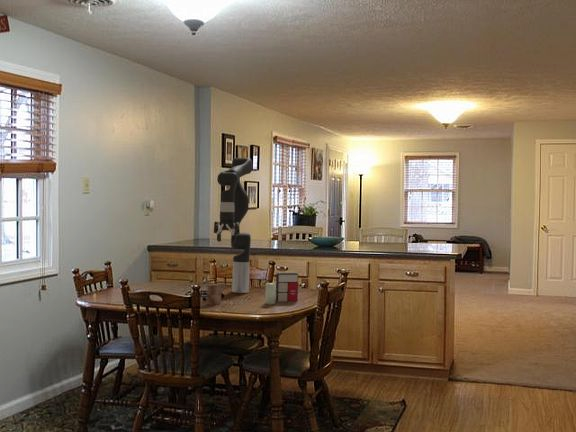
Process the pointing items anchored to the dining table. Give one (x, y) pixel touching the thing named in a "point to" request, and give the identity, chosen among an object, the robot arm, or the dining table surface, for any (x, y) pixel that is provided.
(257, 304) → the dining table surface
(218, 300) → the walnut block
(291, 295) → the miniature cabinet
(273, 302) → the sage cylinder
